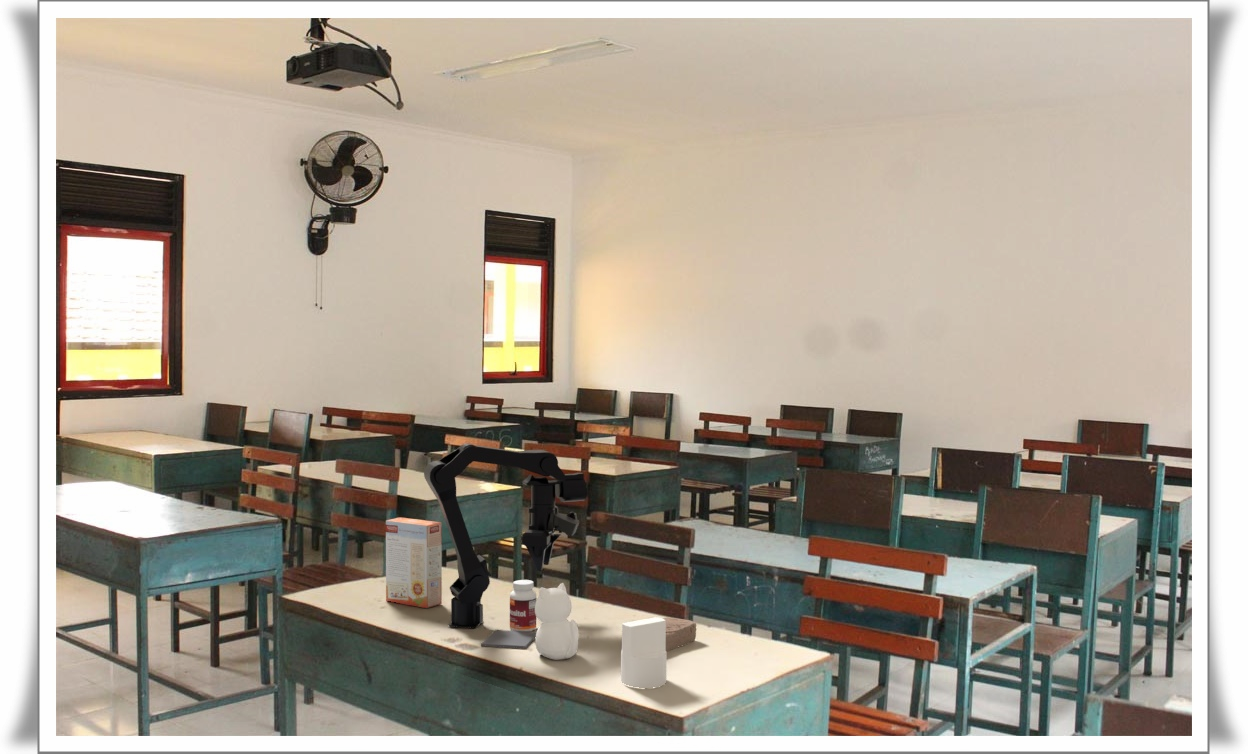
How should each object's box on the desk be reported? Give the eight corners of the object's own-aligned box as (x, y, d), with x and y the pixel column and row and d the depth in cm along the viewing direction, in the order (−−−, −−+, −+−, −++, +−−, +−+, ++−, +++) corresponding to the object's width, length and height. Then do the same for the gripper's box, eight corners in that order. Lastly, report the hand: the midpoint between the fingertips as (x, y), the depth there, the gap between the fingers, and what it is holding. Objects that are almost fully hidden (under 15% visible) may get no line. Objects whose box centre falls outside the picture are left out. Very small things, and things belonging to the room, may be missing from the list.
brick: (651, 659, 239) (651, 637, 239) (621, 651, 244) (621, 629, 244) (697, 642, 251) (697, 621, 251) (668, 635, 257) (668, 615, 257)
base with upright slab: (638, 692, 217) (638, 630, 216) (612, 679, 224) (612, 620, 224) (675, 683, 222) (675, 623, 221) (648, 671, 229) (649, 613, 229)
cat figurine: (556, 646, 247) (555, 578, 246) (594, 658, 238) (594, 588, 237) (524, 655, 240) (523, 585, 240) (562, 667, 231) (561, 595, 231)
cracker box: (443, 604, 282) (442, 521, 281) (426, 609, 277) (426, 525, 276) (401, 596, 289) (401, 516, 288) (385, 601, 284) (384, 519, 283)
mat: (481, 646, 246) (481, 643, 246) (495, 632, 257) (495, 629, 257) (525, 648, 244) (525, 646, 244) (537, 634, 255) (537, 632, 255)
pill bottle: (504, 630, 259) (504, 582, 258) (520, 624, 264) (520, 577, 264) (525, 634, 256) (525, 586, 255) (541, 628, 261) (541, 581, 260)
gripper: (567, 510, 258) (567, 578, 259) (584, 498, 277) (583, 561, 278) (520, 509, 260) (520, 575, 261) (540, 496, 279) (540, 559, 279)
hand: (543, 567), depth 270 cm, fingers open, 6 cm apart
